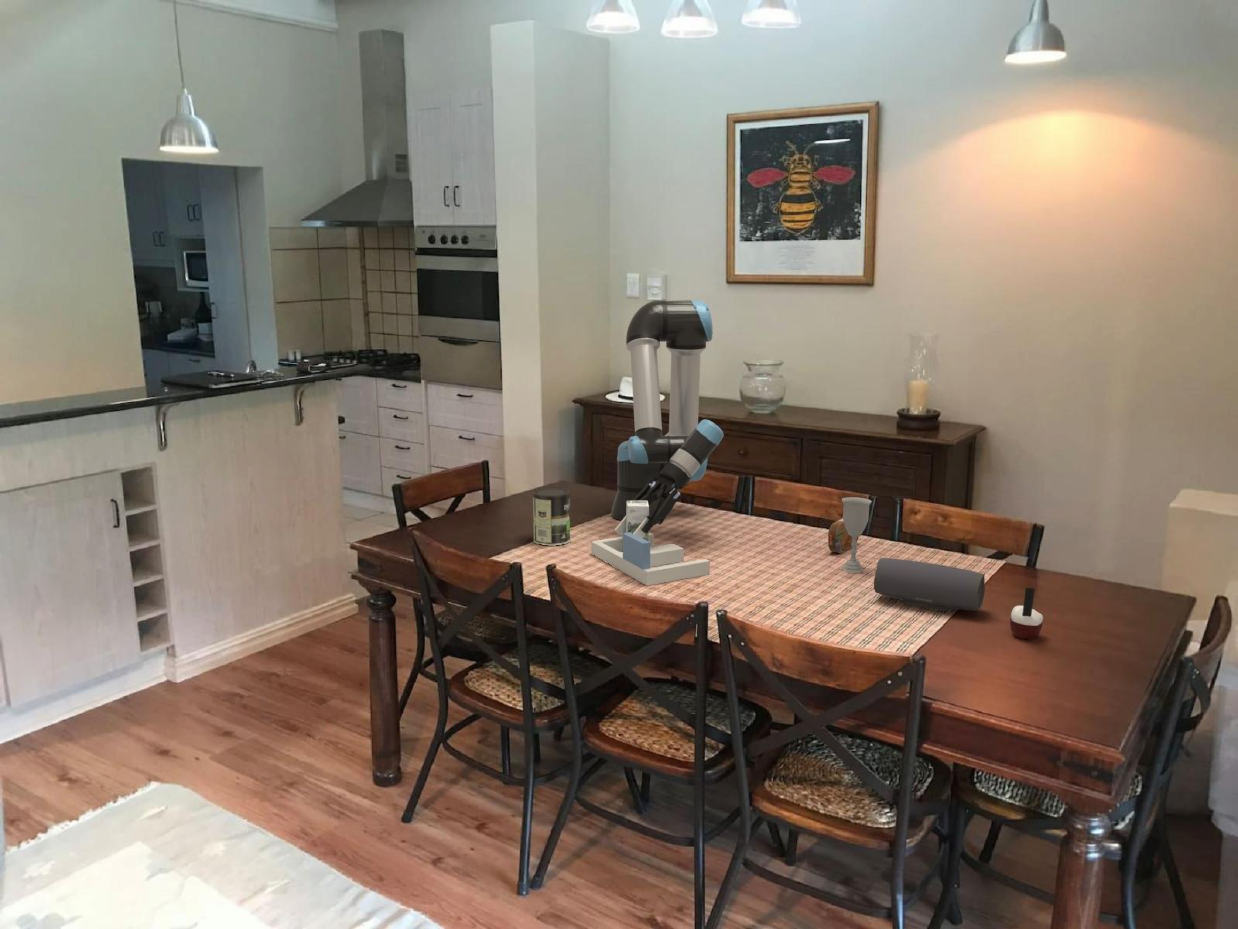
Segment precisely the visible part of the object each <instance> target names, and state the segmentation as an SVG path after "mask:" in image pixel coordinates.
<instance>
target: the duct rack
mask: <svg viewBox="0 0 1238 929" xmlns="http://www.w3.org/2000/svg"><path fill="white" fill-rule="evenodd" d="M654 536H655V535H654V533H652V532H649V542H648V541H646V540H644V539H642V538H640V537H638V536H636V535H634V534H632V533H630V532H629V533H626V532H625V533H623V536H619V537H612V538H611V537H610V538H606V539H604V538H603V539H599V540H592V541H590V542H591V545H590V552H591V553H590V554H591V555H592V556H594V555H595V556H596V557H595V556H594V557H595V558H597V557H598V558H597V559H599V558H600V559H599V560H601V559H602V560H603V561H602V560H601V561H602V562H604V561H606V562H607V563H606V562H605V563H606V564H608V563H609V564H610V566H611V565H613V566H614V567H613V566H612V567H613V568H615V569H616V570H618V569H619V571H620V572H622V573H624V574H625V575H627V576H629V577H631V578H632V579H634V578H635V579H634V580H636V581H638V582H640V583H641V584H643V585H644V586H646V587H648V586H653V585H654V586H655V585H660V584H664V582H666V583H670V582H671V583H672V582H676V581H680V580H681V579H682V580H686V579H685V578H688V579H693V578H699V577H704V576H709V575H710V572H711V571H710V568H711V567H710V566H711V562H710V560H708V559H706V558H703V559H697V560H691V561H684V552H685V551H684V548H683V547H681V546H679V545H677V544H675V543H669V544H663V545H656V546H654V543H655V542H654V541H655V540H654ZM622 551H623V552H622ZM609 564H608V565H609Z"/></svg>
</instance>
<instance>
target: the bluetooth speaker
mask: <svg viewBox="0 0 1238 929" xmlns="http://www.w3.org/2000/svg"><path fill="white" fill-rule="evenodd" d="M876 564H877V565H876V569H875V573H874V574H875V575H874V579H873V590H874V592H875V593H876V594H879V595H883V596H884V597H885V596H886V597H890V598H895V599H898V600H902V601H903V603H904V604H905V605H908V606H912V607H917V608H922V609H929V610H932V611H933V610H934V611H939V612H951V610H952V609H953V610H954V609H955V610H964V611H976V612H979V611H980V610H981V608H982V606H983V603H984V598H985V590H986V584H985V581H986V580H985V577H986V576H985V574H984V573H981V572H976V571H975V570H974V571H973V570H969V569H964V568H959V567H955V566H954V567H953V566H948V565H943V564H939V563H938V564H937V563H930V562H926V561H925V562H923V561H917V560H908V559H900V558H892V557H891V558H889V557H881V558H879V559H878V561H877V563H876Z"/></svg>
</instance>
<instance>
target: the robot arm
mask: <svg viewBox="0 0 1238 929" xmlns="http://www.w3.org/2000/svg"><path fill="white" fill-rule="evenodd" d="M713 333H714V332H713V321H712V315H711V311H710V307H709V305H708V304H707V303H706V302H705V301H703V300H691V299H689V300H688V299H687V300H686V299H685V300H684V299H683V300H652V301H649V302H647V303H645V304H644V305H642V306H641V307H640V308H639V309H637V311H636V312H635V313H634V315H633V317H632V319H631V320H630V321H629V324H628V327H627V330H626V337H625V339H626V340H625V342H626V343H625V344H626V349H627V351H629V352H630V365H631V367H630V368H631V385H632V402H633V403H632V404H633V418H634V421H633V422H634V436H630V437H629V438H628V440H625V441H623V442H621V443H620V444H619V445H618V448H617V457H616V461H617V488H616V490H617V492H616V493H615V497H614V500H613V503H612V506H611V518H613V519H615V520H619V521H620V522H619V523H618V524H617V526H616V527H615V528H614V531H615V532H616V533H617V535H619V537H623V533H626V502H627V501H648V505H649V516H647V518H648V519H649V520H648V519H646V518H645V519H644V521H643V522H642V523H641V524H640V526H639V527H638V528H637V529H636V531H635V532H634V533H633V534H634V535H636V536H638V537H640V538H643V537H644V536H645V535H646V534H647V533H648V532H649V533H650V530H651V529H652V528H653V527H654V526H656V525H657V524H658V525H663V523H664V521H665V520H666V518H667V517H668V515H669V513H670V512H671V511H672V509H673V507H674V506H675V504H676V503H677V502H678V501H679V500H680V499H681V498H682V494H681V492H680V490H683V489H684V488H685V487H686V485H687V484H688V483H689V482H698V481H700V480H701V479H702V478H703V477H704V476H705V473H706V470H707V466H708V458H709V457H710V455H711V454H712V453H713V452H714V450H715V449H716V448H717V447H718V446H719V445H720V442H721V441H722V439H723V438H724V436H725V435H724V431H723V430H722V428H721V427H719V425H717V424H716V423H715V422H713V421H711V420H709V419H702V420H700V422H699V406H700V404H699V403H700V401H699V400H700V381H701V380H700V378H701V377H700V376H701V374H700V373H701V354H702V353H703V352H704V351H705V350H706V349H707V342H708V343H709V342H711V341H712V339H713V335H714V334H713ZM661 342H665V343H666V344H665V348H666V349H667V350H668V351H669V352H670V358H671V359H670V382H669V384H670V386H669V387H670V388H669V392H670V393H669V418H668V419H669V420H668V423H669V424H668V432H667V433H666V434H665V435H663V425H662V412H661V411H662V410H661V408H662V407H661V395H660V393H661V392H660V378H659V377H660V376H659V366H658V365H659V362H658V349H660V347H661ZM678 490H679V491H678Z"/></svg>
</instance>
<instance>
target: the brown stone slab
mask: <svg viewBox="0 0 1238 929" xmlns="http://www.w3.org/2000/svg"><path fill="white" fill-rule="evenodd" d="M827 536H828V538H827V540H828V541H827V542H828V544H827V545H828V549H829V551H830V552H831V553H836V554H844V553H846V552H847V551H850V549H852V545H851V543H852V540H853V539H852V536H850V535H849V534H848V532H847V529H846V527H845V525H844V521H843V517H841V518H840V519H838V520H836V521H834V522H832V523H831V524H830V527H829V529H828V533H827ZM858 540H859V537H857V539H856V542H858Z"/></svg>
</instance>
